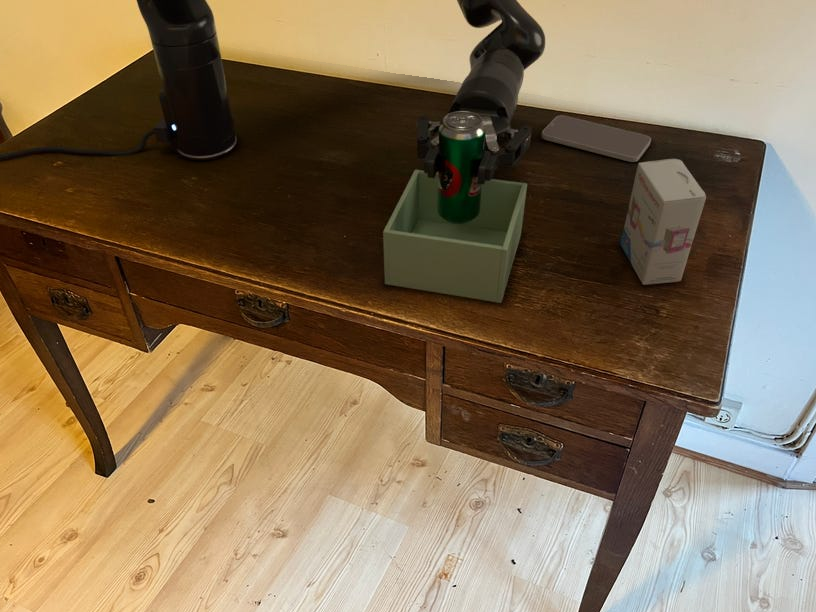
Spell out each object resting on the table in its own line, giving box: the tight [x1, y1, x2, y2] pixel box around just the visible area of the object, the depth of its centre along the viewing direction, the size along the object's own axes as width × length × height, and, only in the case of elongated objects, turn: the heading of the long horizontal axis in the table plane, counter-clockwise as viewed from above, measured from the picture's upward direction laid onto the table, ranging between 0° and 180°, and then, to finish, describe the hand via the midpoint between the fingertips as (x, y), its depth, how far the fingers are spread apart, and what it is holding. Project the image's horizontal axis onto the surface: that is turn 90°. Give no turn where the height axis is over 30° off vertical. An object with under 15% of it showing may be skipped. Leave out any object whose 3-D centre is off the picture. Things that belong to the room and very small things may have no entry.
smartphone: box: [541, 115, 652, 163], centre depth 111 cm, size 7×1×15 cm
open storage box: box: [382, 169, 528, 304], centre depth 89 cm, size 14×14×8 cm
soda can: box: [437, 111, 486, 224], centre depth 83 cm, size 5×5×12 cm
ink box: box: [619, 158, 707, 286], centre depth 85 cm, size 9×5×12 cm, turn 5°
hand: (456, 173), depth 81 cm, fingers closed on soda can, 5 cm apart
